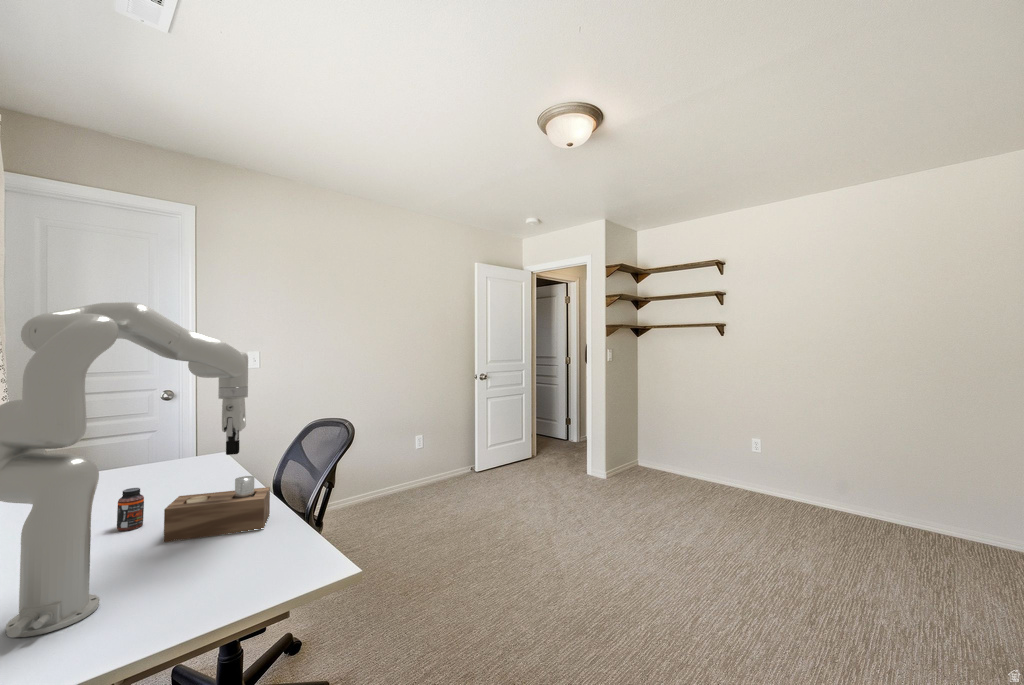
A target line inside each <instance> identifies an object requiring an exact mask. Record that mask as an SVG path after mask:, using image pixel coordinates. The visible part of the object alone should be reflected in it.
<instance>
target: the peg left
mask: <svg viewBox="0 0 1024 685" xmlns="http://www.w3.org/2000/svg"><path fill="white" fill-rule="evenodd" d="M207 500H208V497H206V496H199V497H193V498H190V499H188V500H187V501H186V504H188V503H197V502H206V501H207Z"/></svg>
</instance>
